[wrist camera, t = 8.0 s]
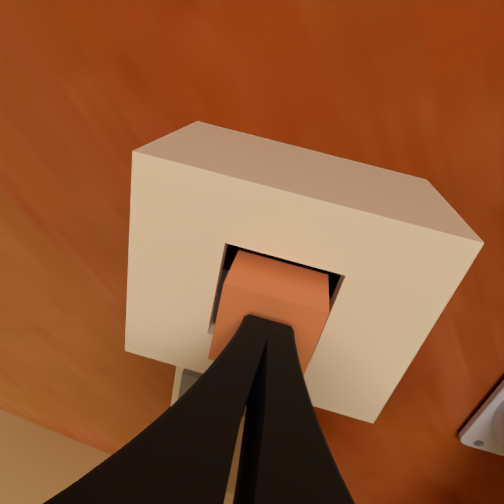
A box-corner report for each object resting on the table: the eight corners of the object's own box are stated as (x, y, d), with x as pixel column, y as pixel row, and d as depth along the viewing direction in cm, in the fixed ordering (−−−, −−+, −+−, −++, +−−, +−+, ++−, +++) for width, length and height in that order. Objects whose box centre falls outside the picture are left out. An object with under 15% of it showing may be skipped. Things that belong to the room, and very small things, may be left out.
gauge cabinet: (436, 182, 15) (499, 247, 9) (366, 325, 19) (383, 426, 13) (197, 121, 15) (132, 151, 10) (178, 272, 19) (124, 350, 14)
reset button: (328, 274, 11) (329, 312, 10) (302, 341, 13) (299, 385, 11) (238, 249, 11) (223, 283, 10) (223, 319, 13) (207, 358, 11)
